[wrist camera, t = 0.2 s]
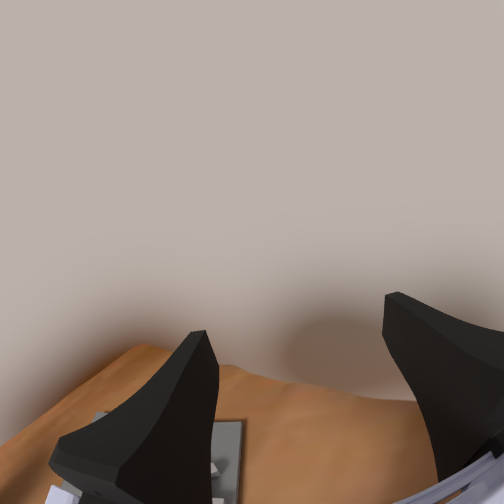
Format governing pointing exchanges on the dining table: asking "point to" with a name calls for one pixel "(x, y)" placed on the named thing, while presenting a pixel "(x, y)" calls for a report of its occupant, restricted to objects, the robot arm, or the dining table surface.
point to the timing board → (213, 460)
